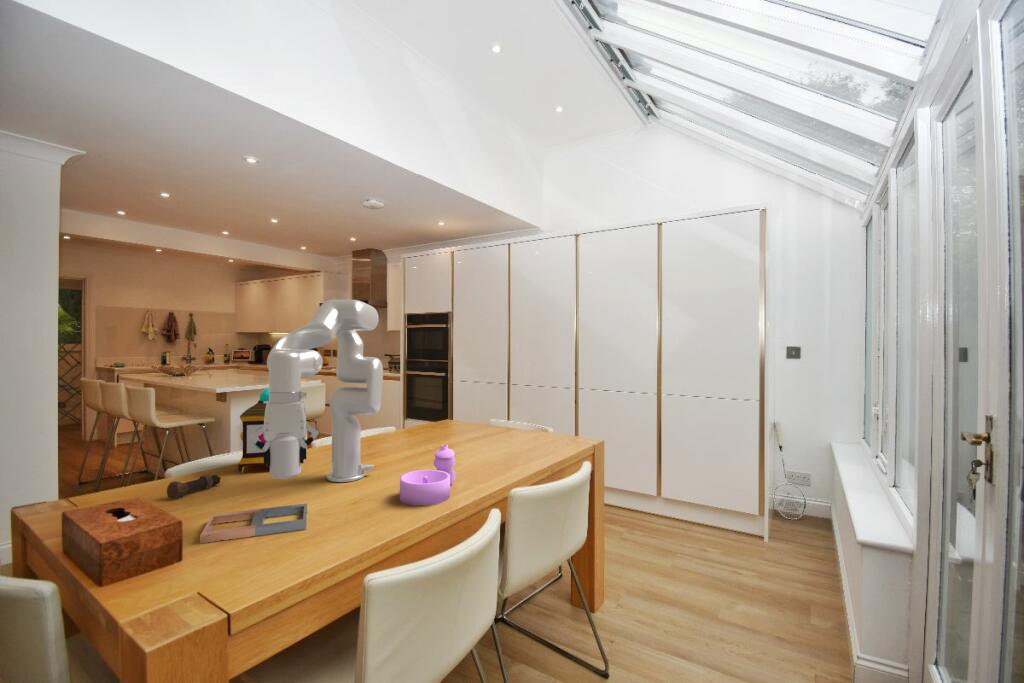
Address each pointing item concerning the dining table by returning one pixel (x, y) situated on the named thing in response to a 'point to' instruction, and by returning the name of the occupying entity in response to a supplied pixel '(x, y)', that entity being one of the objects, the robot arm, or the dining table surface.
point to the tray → (254, 523)
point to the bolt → (191, 486)
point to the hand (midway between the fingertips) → (285, 463)
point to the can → (285, 456)
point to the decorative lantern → (251, 424)
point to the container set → (429, 481)
